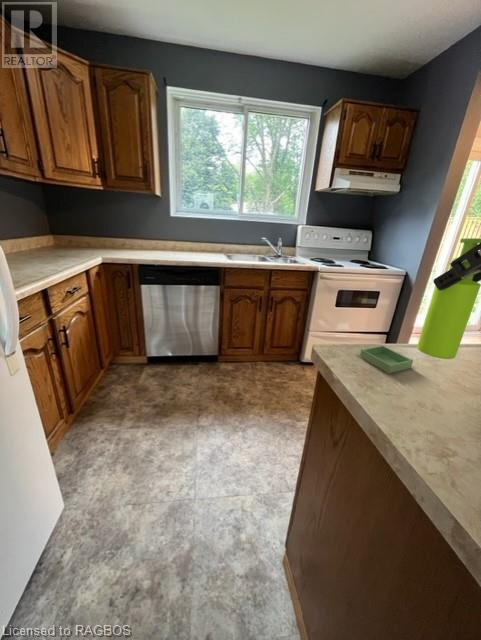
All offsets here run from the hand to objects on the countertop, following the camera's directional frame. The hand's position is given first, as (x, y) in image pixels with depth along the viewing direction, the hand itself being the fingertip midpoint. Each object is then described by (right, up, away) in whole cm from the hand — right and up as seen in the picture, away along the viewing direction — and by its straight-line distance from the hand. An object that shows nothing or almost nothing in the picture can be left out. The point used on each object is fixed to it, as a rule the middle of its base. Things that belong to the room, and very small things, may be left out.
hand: (449, 284), depth 46 cm
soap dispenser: (0, -12, +3) cm, 13 cm away
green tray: (+4, -18, +28) cm, 33 cm away
